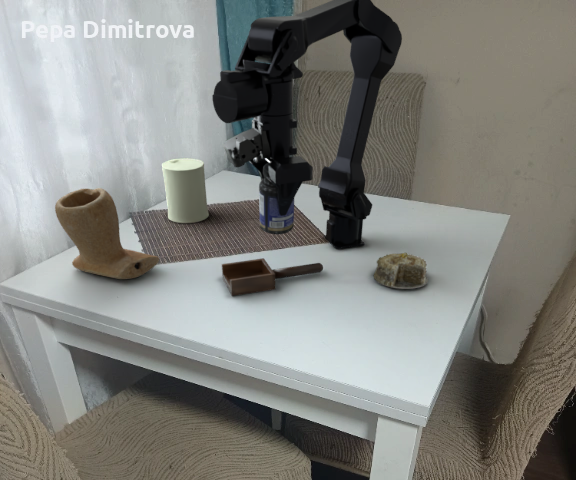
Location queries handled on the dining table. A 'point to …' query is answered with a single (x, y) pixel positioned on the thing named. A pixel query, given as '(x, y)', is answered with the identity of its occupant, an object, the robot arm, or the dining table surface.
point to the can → (185, 190)
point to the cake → (401, 271)
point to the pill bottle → (272, 208)
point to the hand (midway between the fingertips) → (276, 208)
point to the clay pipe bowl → (99, 235)
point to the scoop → (260, 275)
